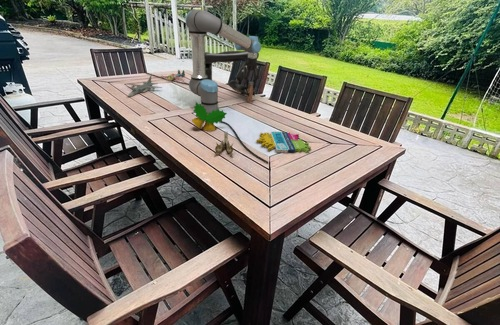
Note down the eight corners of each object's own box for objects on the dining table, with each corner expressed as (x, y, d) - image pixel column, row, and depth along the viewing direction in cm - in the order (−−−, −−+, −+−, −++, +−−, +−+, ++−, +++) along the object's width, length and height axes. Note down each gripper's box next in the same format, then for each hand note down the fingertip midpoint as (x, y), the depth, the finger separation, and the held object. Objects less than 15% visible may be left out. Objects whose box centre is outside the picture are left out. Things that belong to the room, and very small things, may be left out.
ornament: (218, 133, 171) (224, 110, 169) (221, 134, 163) (227, 111, 161) (186, 125, 162) (192, 101, 160) (189, 126, 155) (195, 101, 153)
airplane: (122, 86, 237) (119, 75, 232) (157, 84, 250) (156, 74, 245) (126, 99, 209) (123, 86, 204) (166, 96, 222) (165, 84, 217)
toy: (193, 71, 287) (180, 75, 262) (193, 77, 291) (181, 82, 265) (170, 68, 292) (155, 72, 266) (170, 75, 296) (156, 79, 270)
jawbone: (234, 135, 144) (233, 125, 135) (233, 160, 138) (232, 151, 129) (217, 135, 144) (216, 125, 135) (216, 160, 138) (214, 150, 129)
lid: (246, 84, 217) (246, 81, 216) (252, 84, 218) (253, 81, 217) (248, 85, 212) (248, 82, 211) (254, 85, 214) (254, 82, 213)
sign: (313, 150, 142) (258, 149, 139) (312, 153, 143) (258, 152, 140) (301, 132, 164) (254, 130, 161) (301, 134, 165) (254, 133, 162)
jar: (246, 101, 223) (247, 82, 216) (251, 100, 225) (252, 82, 217) (247, 102, 220) (248, 83, 212) (252, 102, 221) (254, 83, 213)
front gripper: (242, 58, 199) (241, 89, 210) (264, 58, 205) (262, 88, 216) (239, 57, 205) (238, 86, 217) (261, 57, 211) (259, 86, 222)
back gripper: (235, 85, 225) (244, 90, 212) (249, 85, 231) (259, 89, 218) (234, 94, 228) (243, 99, 216) (249, 93, 235) (258, 98, 222)
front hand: (250, 87), depth 216 cm, fingers closed on lid, 5 cm apart
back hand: (251, 94), depth 217 cm, fingers closed on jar, 4 cm apart
